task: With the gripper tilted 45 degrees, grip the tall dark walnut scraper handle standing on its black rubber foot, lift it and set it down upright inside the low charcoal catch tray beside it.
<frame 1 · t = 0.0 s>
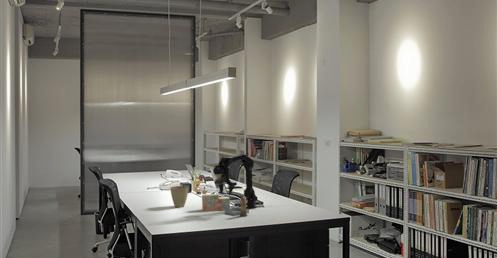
hand: (225, 193, 368), 15 cm above the table, tool pointing down, fingers open, 9 cm apart
scraper handle: (243, 215, 357), on the table
plant pot: (179, 206, 395), on the table
catch tray: (236, 213, 367), on the table
colourful rectangular box: (216, 210, 382), on the table
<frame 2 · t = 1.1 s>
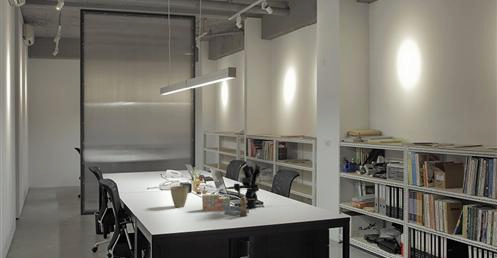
hand: (244, 196, 364), 13 cm above the table, tool tilted 45°, fingers open, 9 cm apart
nothing on the table moved.
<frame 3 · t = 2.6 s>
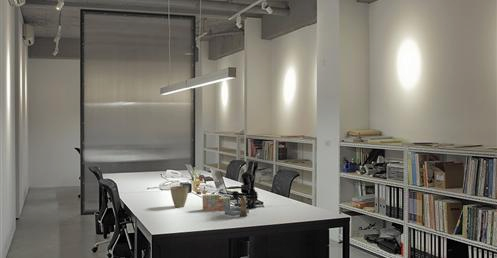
hand: (243, 204, 358), 9 cm above the table, tool tilted 45°, fingers open, 9 cm apart
nothing on the table moved.
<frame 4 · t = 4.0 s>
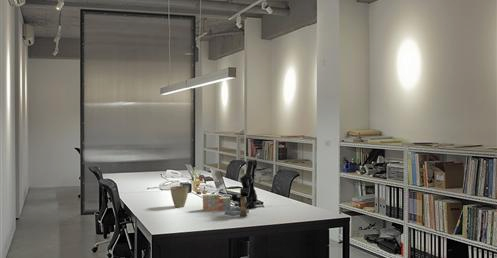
hand: (242, 207, 356), 7 cm above the table, tool tilted 45°, fingers closed on scraper handle, 4 cm apart
scraper handle: (243, 215, 357), on the table, touching gripper
everything else where it was.
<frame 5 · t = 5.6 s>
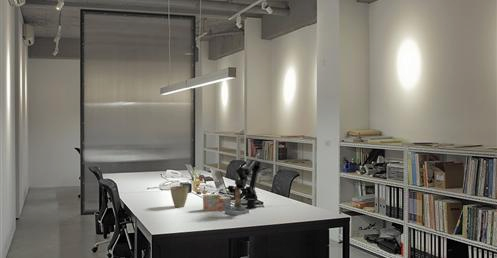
hand: (237, 198, 360), 12 cm above the table, tool tilted 45°, fingers closed on scraper handle, 4 cm apart
scraper handle: (238, 207, 361), point 6 cm above the table, touching gripper
everything else where it was.
when the fingers open (8 cm above the table, at t = 7.1 s): scraper handle drops 1 cm, resting on catch tray.
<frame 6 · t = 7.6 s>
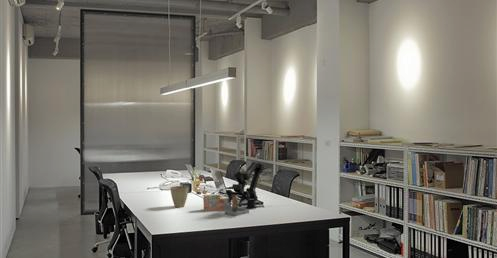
hand: (234, 202, 363), 9 cm above the table, tool tilted 45°, fingers open, 9 cm apart
scraper handle: (235, 213, 365), point 1 cm above the table, touching catch tray
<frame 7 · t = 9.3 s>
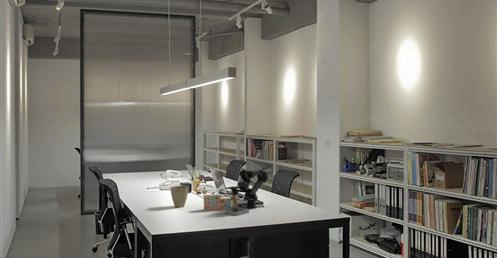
hand: (239, 200, 370), 9 cm above the table, tool tilted 45°, fingers open, 9 cm apart
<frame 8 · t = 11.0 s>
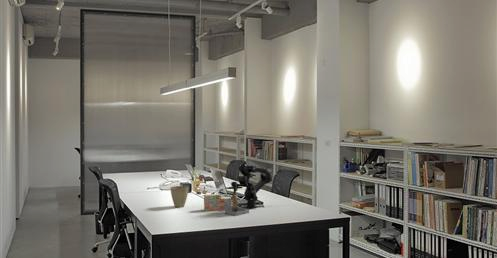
hand: (239, 194, 372), 14 cm above the table, tool tilted 45°, fingers open, 9 cm apart
at the end: scraper handle inside the target area on the catch tray (3.1 cm from its centre), point 0.5 cm above the catch tray's base; scraper handle tilted 1°; the gripper is holding nothing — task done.
